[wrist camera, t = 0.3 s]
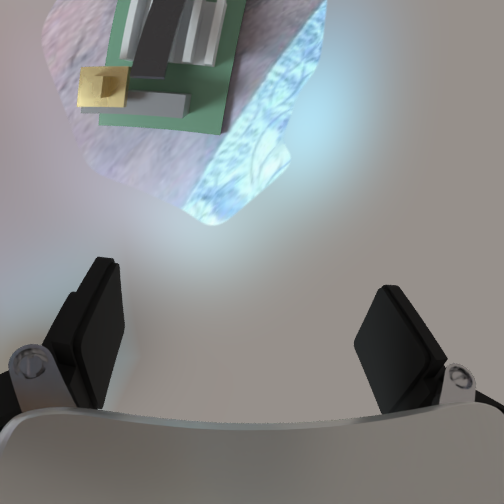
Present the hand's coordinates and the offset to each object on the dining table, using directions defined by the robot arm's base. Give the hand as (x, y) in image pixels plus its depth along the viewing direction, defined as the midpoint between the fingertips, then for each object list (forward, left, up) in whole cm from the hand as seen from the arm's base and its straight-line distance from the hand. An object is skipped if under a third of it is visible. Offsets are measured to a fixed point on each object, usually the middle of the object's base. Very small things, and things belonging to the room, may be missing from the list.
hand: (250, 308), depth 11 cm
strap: (-14, -9, -22) cm, 27 cm away
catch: (-6, -14, -22) cm, 26 cm away
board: (-12, -9, -30) cm, 33 cm away
